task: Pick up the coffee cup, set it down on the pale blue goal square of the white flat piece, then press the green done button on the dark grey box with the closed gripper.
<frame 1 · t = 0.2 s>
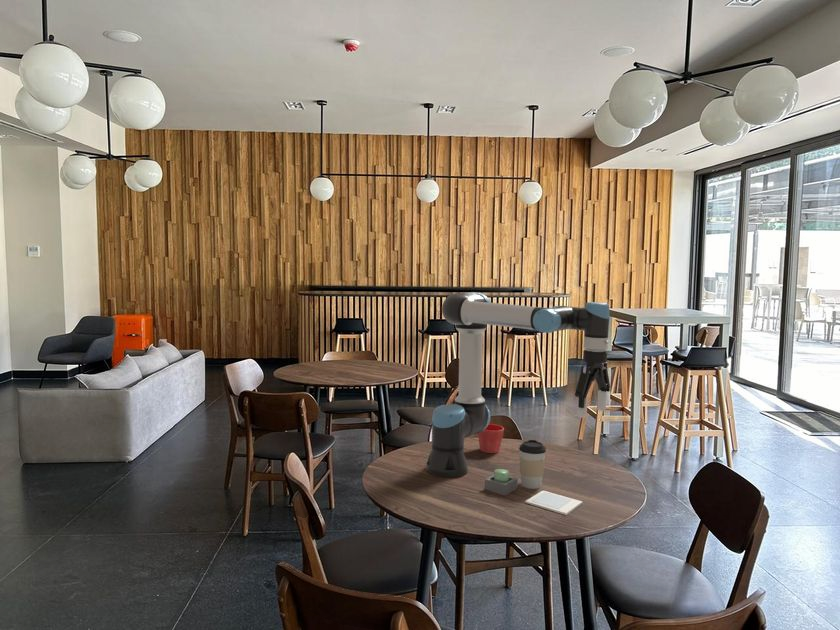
hand: (591, 414, 197), 27 cm above the table, fingers open, 13 cm apart
white flat piece: (553, 503, 192), on the table
flower pot: (489, 450, 244), on the table
done button: (501, 477, 202), point 4 cm above the table, slide at 0.0 cm
button box: (500, 488, 203), on the table
coffee cup: (530, 485, 207), on the table
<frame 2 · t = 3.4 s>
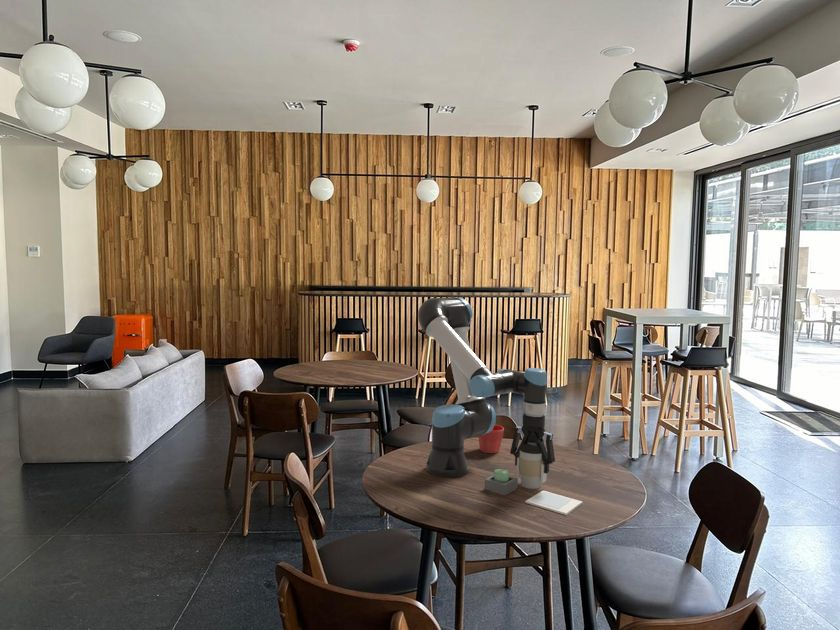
hand: (531, 478, 206), 2 cm above the table, fingers closed on coffee cup, 8 cm apart
coffee cup: (530, 485, 207), on the table, touching gripper
everything else where it was.
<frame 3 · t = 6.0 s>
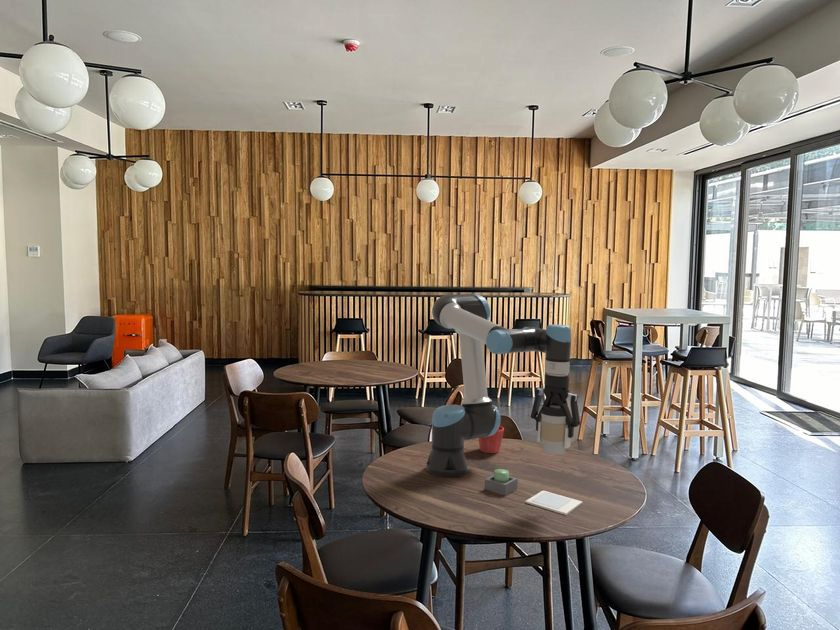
hand: (553, 444, 190), 19 cm above the table, fingers closed on coffee cup, 8 cm apart
coffee cup: (553, 452, 191), point 17 cm above the table, touching gripper
everything else where it was.
when the fingers open (5 cm above the table, at t = 8.7 s): coffee cup stays where it is, resting on white flat piece.
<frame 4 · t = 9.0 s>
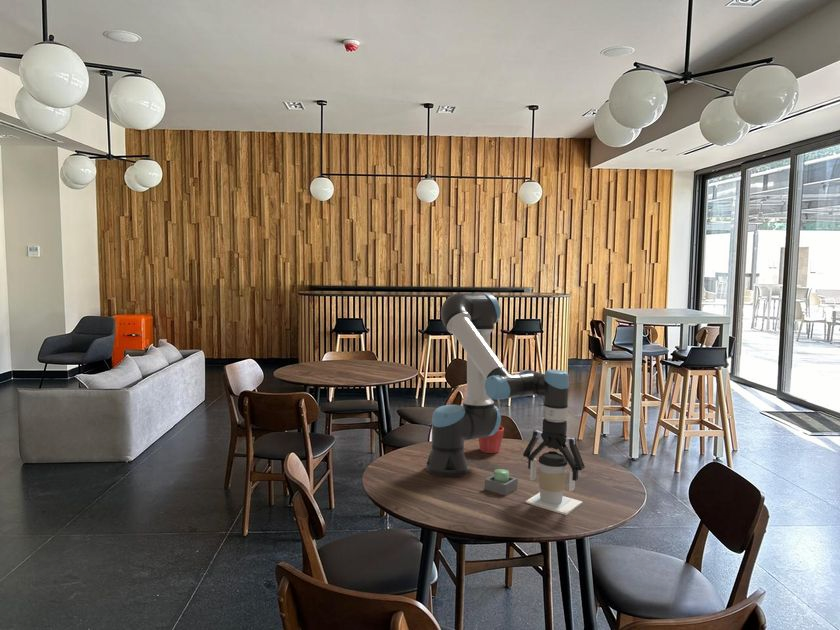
hand: (551, 484, 192), 6 cm above the table, fingers open, 13 cm apart
coffee cup: (550, 500, 192), point 1 cm above the table, touching white flat piece
everything else where it was.
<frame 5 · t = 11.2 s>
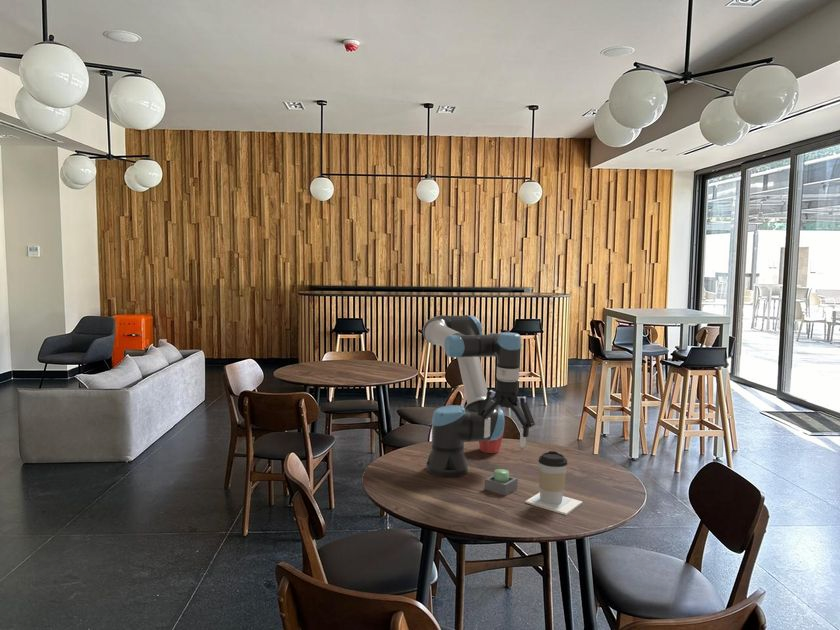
hand: (504, 441, 201), 16 cm above the table, fingers open, 13 cm apart
nothing on the table moved.
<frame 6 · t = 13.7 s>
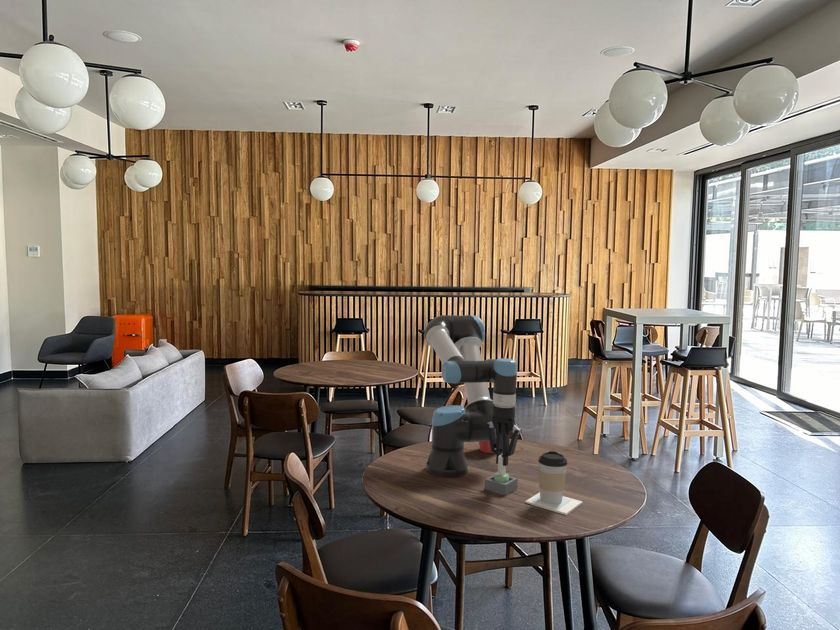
hand: (501, 474, 202), 5 cm above the table, fingers closed
done button: (501, 480, 202), point 3 cm above the table, slide at 1.1 cm, touching gripper
everything else where it was.
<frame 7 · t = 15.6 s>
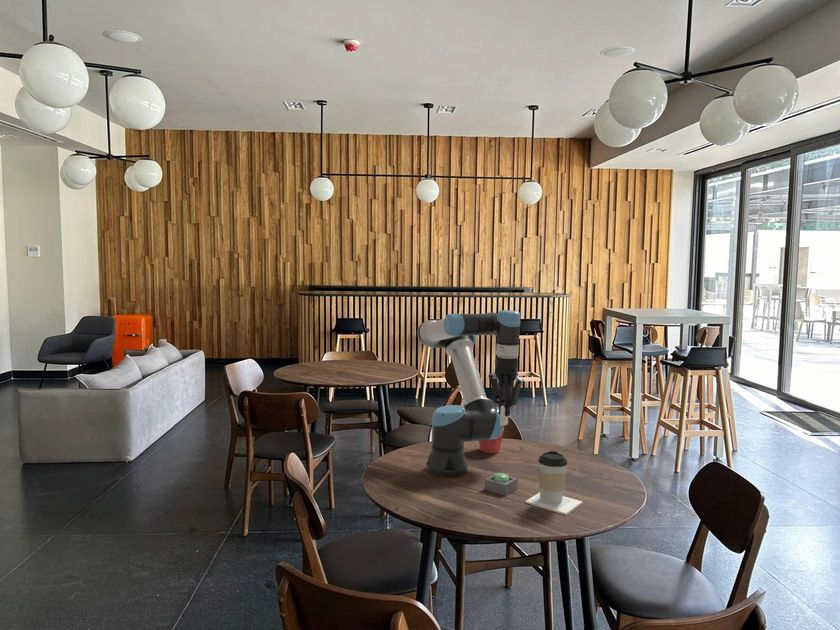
hand: (503, 424, 205), 21 cm above the table, fingers closed
done button: (501, 481, 202), point 3 cm above the table, slide at 1.4 cm
everything else where it was.
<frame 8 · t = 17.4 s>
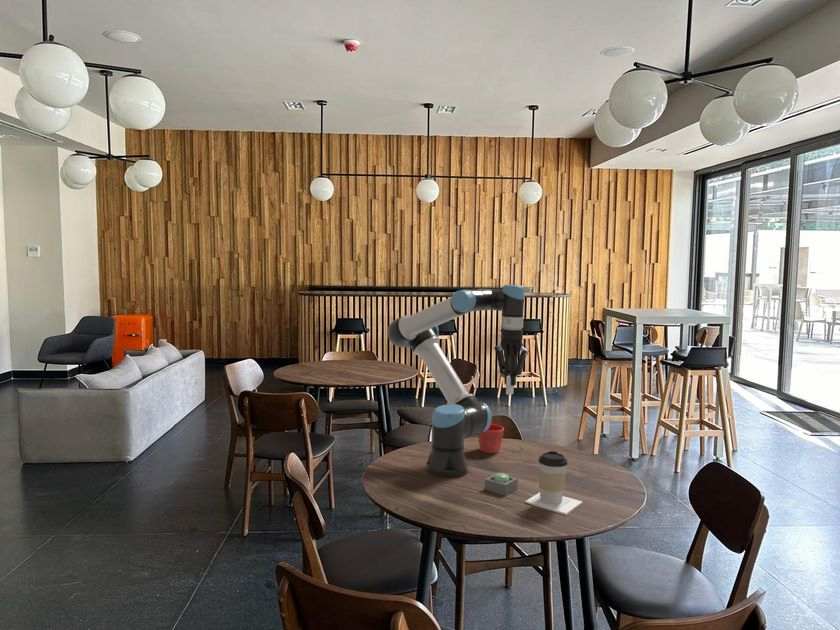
hand: (509, 393, 214), 29 cm above the table, fingers closed
nothing on the table moved.
at the end: coffee cup inside the target area (0.1 cm from its centre), point 0.5 cm above the table; coffee cup tilted 0°; done button slide at 1.4 cm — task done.
